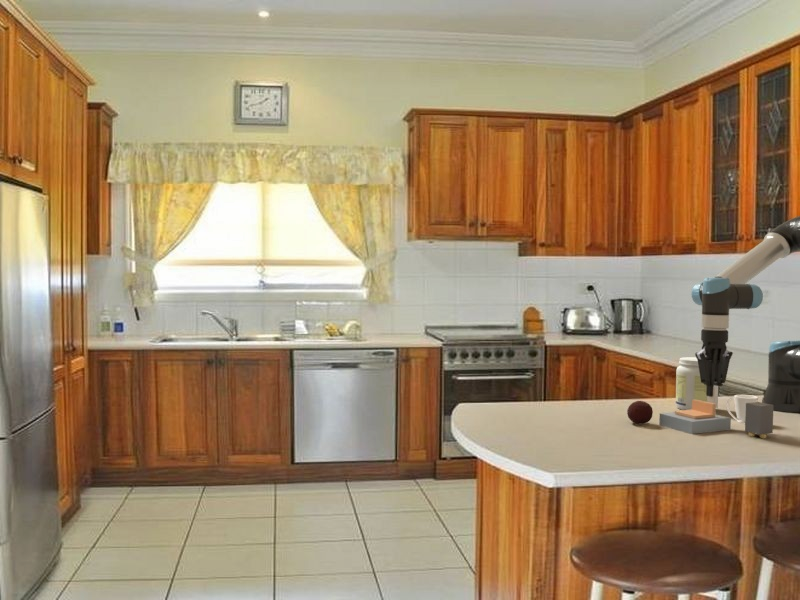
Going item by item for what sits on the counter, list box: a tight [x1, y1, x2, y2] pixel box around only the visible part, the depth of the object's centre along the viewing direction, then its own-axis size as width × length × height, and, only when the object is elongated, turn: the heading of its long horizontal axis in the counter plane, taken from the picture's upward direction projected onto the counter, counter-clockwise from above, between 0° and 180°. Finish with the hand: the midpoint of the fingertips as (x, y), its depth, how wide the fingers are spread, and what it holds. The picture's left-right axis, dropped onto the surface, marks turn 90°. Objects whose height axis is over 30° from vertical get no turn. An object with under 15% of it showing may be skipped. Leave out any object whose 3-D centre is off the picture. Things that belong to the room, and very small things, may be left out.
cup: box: [726, 394, 759, 424], centre depth 237 cm, size 7×10×8 cm
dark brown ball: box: [626, 400, 654, 425], centre depth 232 cm, size 7×8×7 cm
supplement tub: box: [675, 356, 707, 411], centre depth 257 cm, size 12×12×17 cm
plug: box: [744, 401, 774, 439], centre depth 217 cm, size 5×5×9 cm
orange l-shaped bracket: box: [674, 400, 717, 419], centre depth 228 cm, size 8×8×4 cm
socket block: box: [659, 411, 732, 435], centre depth 228 cm, size 15×13×4 cm
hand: (712, 406), depth 231 cm, fingers closed
